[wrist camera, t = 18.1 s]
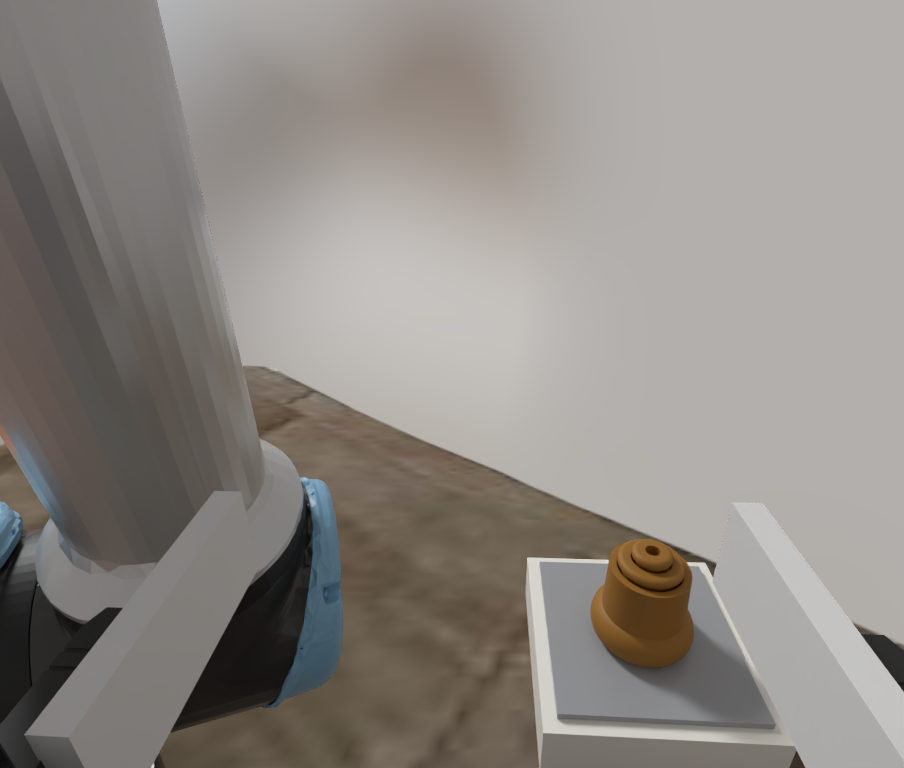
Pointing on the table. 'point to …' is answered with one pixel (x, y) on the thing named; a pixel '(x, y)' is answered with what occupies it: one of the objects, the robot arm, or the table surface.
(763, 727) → the block
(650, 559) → the ornamental finial
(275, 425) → the table surface
